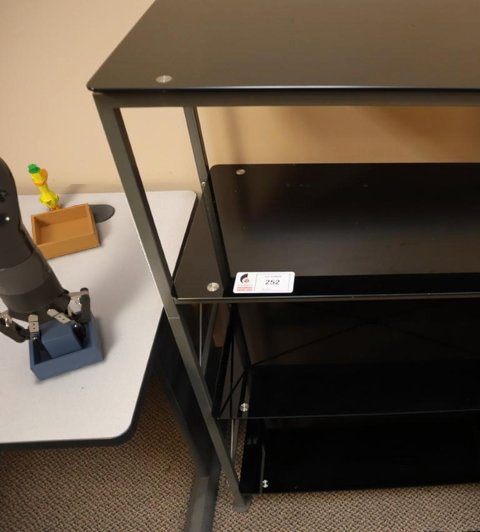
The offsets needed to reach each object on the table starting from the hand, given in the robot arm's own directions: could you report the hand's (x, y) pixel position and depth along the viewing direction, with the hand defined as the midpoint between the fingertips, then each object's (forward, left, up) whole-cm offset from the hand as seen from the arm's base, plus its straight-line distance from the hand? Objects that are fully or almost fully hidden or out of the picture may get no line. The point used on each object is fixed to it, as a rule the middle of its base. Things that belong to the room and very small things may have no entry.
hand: (65, 342), depth 88 cm
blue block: (0, 0, 0) cm, 0 cm away
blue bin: (0, 0, -2) cm, 2 cm away
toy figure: (-25, +33, -2) cm, 42 cm away
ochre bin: (-17, +26, -2) cm, 31 cm away
